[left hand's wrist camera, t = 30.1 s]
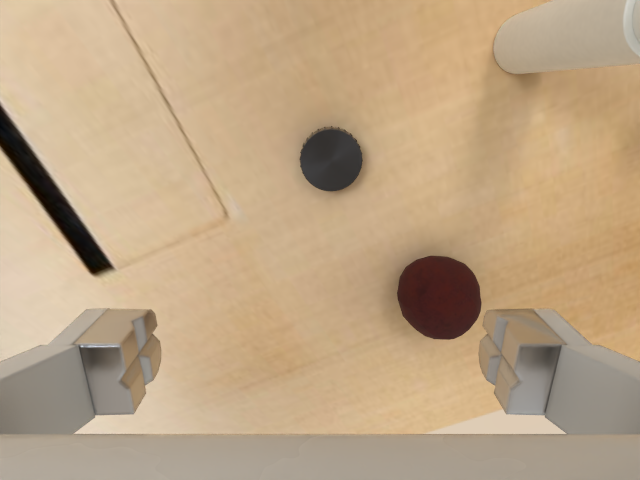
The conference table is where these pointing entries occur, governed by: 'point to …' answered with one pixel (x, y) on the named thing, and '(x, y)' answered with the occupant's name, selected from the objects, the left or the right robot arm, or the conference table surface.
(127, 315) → the left robot arm
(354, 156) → the lid
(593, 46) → the white bottle
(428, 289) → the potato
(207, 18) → the conference table surface
